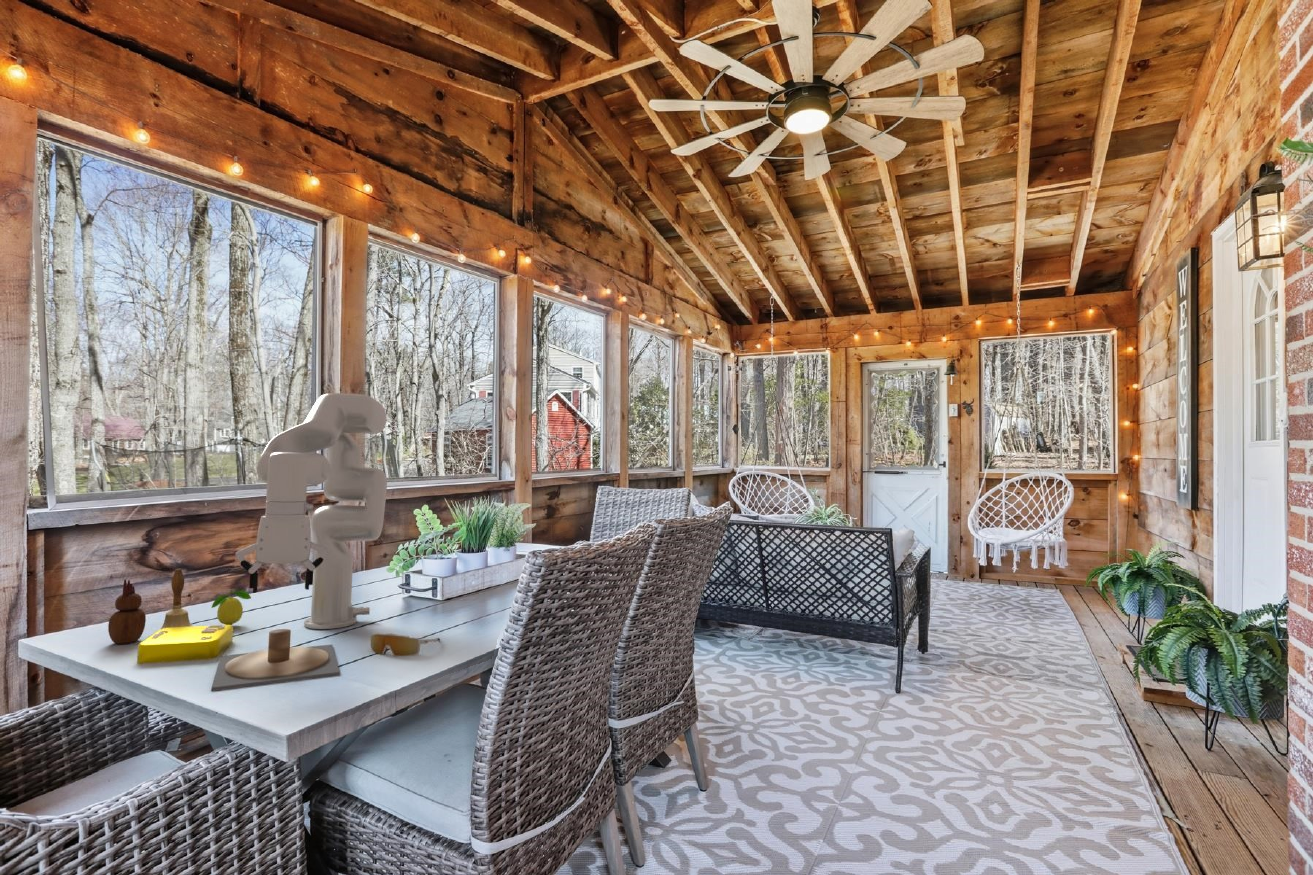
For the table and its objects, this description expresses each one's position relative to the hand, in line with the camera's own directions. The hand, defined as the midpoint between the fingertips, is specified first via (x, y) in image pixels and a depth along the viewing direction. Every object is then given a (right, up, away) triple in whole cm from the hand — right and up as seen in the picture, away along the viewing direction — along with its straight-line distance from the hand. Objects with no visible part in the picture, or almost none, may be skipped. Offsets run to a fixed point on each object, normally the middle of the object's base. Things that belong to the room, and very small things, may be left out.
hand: (281, 590), depth 139 cm
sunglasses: (+20, -18, +17) cm, 32 cm away
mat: (-1, -16, 0) cm, 16 cm away
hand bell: (-39, -16, +22) cm, 47 cm away
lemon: (-31, -17, +30) cm, 46 cm away
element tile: (-26, -16, +8) cm, 32 cm away
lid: (-1, -16, 0) cm, 16 cm away
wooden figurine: (-44, -16, +14) cm, 49 cm away
